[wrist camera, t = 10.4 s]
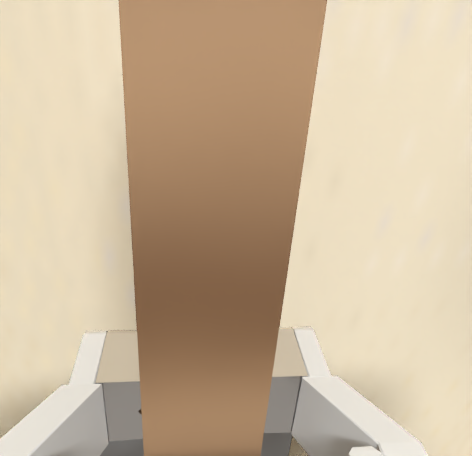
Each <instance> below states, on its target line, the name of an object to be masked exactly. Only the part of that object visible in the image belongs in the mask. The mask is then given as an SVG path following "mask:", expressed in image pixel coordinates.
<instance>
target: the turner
mask: <svg viewBox="0 0 472 456" xmlns="http://www.w3.org/2000/svg"><path fill="white" fill-rule="evenodd" d="M326 4H327V0H119V15H120V33H121V51H122V69H123V87H124V105H125V123H126V141H127V159H128V177H129V195H130V213H131V231H132V249H133V267H134V285H135V304H136V322H137V340H138V358H139V376H140V394H141V412H142V430H143V439H133V440H120V441H108V443H109V444H108V445H107V447H106V448H105V449H104V451H103V452H102V453H101V455H100V456H288V455H289V449H290V444H291V439H292V435H291V433H292V432H290V433H264V428H265V421H266V415H267V408H268V401H269V394H270V387H271V380H272V374H273V367H274V360H275V353H276V346H277V339H278V333H279V326H280V319H281V312H282V305H283V298H284V292H285V285H286V278H287V271H288V264H289V257H290V250H291V244H292V237H293V230H294V223H295V216H296V209H297V203H298V196H299V189H300V182H301V175H302V168H303V162H304V155H305V148H306V141H307V134H308V127H309V121H310V114H311V107H312V100H313V93H314V86H315V80H316V73H317V66H318V59H319V52H320V45H321V38H322V32H323V25H324V18H325V11H326Z"/></svg>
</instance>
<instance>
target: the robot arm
mask: <svg viewBox="0 0 472 456" xmlns="http://www.w3.org/2000/svg"><path fill="white" fill-rule="evenodd" d="M290 432H292V433H291V435H292V436H293V437H294V438H295V439H296V441H297V442H298V443H299V444H300V445H301V447H302V448H303V449H304V450H305V451H306V453H307V454H308V455H309V456H428V454H427V452H426V450H425V449H424V447H423V445H422V443H421V442H420V441H419V440H418V439H416V438H415V437H414V436H413V435H411V434H410V433H409V432H408V431H406V430H405V429H404V428H403V427H401V426H400V425H399V424H398V423H396V422H395V421H394V420H393V419H391V418H390V417H389V416H388V415H386V414H385V413H384V412H382V411H381V410H380V409H379V408H377V407H376V406H375V405H374V404H372V403H371V402H370V401H369V400H367V399H366V398H365V397H364V396H362V395H361V394H360V393H359V392H357V391H356V390H355V389H354V388H352V387H351V386H350V385H348V384H347V383H346V382H345V381H343V380H342V379H341V378H340V377H338V376H331V373H330V370H329V368H328V365H327V362H326V360H325V357H324V355H323V352H322V349H321V347H320V344H319V342H318V339H317V336H316V334H315V331H314V329H313V328H312V327H311V326H308V327H291V328H290V327H289V328H279V333H278V339H277V346H276V353H275V360H274V367H273V374H272V380H271V387H270V394H269V401H268V408H267V415H266V421H265V428H264V433H290ZM133 439H143V430H142V412H141V394H140V376H139V358H138V340H137V330H108V331H86V332H85V333H84V334H83V337H82V340H81V343H80V347H79V350H78V353H77V357H76V360H75V364H74V367H73V370H72V374H71V377H70V381H69V384H68V385H61V386H60V387H59V388H58V389H56V390H55V391H54V392H53V393H52V394H51V395H50V396H48V397H47V398H46V399H45V400H44V401H43V402H42V403H40V404H39V405H38V406H37V407H36V408H35V409H34V410H32V411H31V412H30V413H29V414H28V415H27V416H26V417H24V418H23V419H22V420H21V421H20V422H19V423H18V424H16V425H15V426H14V427H13V428H12V429H11V430H10V431H8V432H7V433H6V434H5V435H4V436H3V437H2V438H0V456H100V455H101V453H102V452H103V451H104V449H105V448H106V447H107V445H108V444H109V443H108V441H120V440H133Z"/></svg>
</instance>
